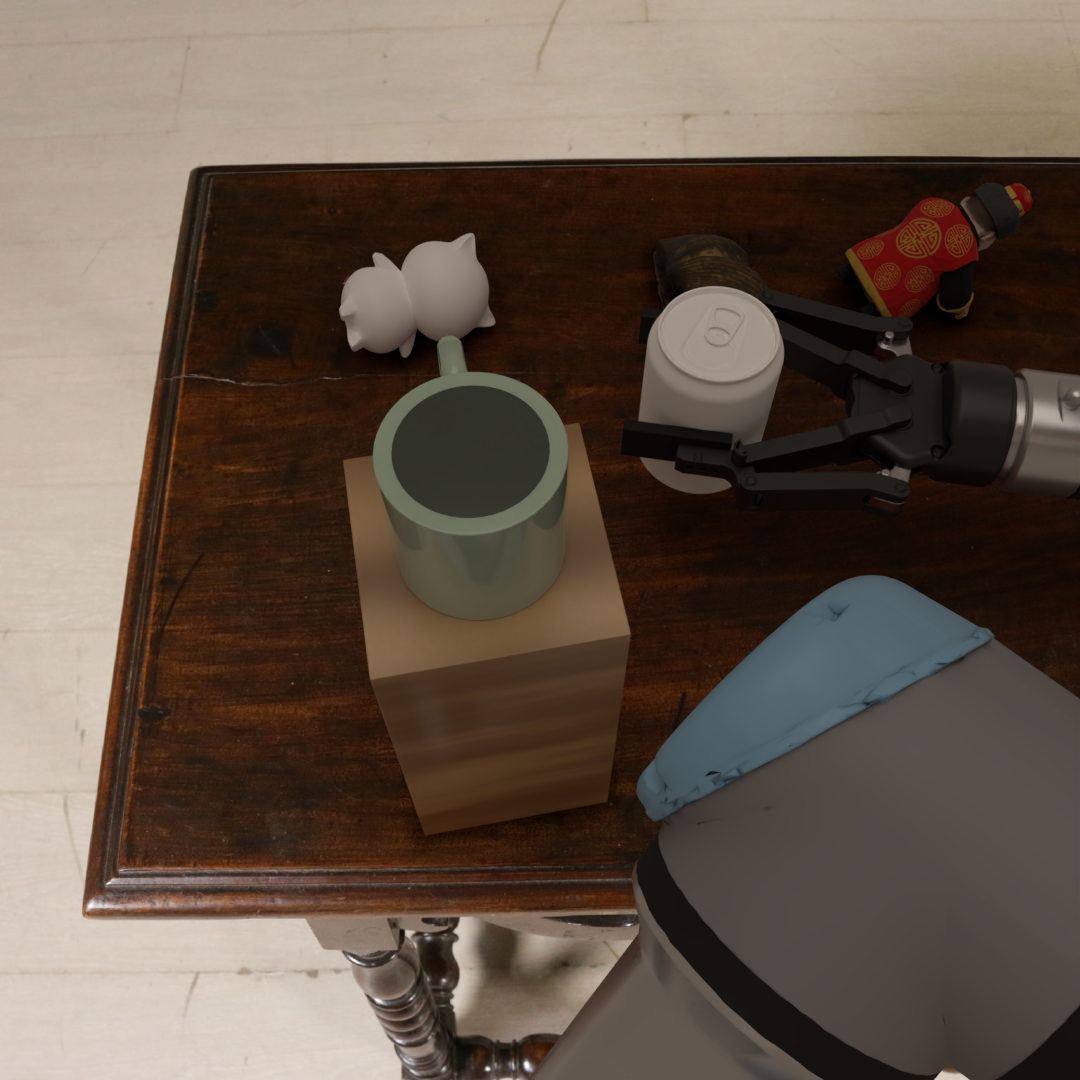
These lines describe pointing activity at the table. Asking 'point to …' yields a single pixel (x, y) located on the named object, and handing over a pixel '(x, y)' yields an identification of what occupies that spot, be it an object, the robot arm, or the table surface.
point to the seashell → (703, 266)
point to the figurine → (933, 251)
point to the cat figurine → (417, 297)
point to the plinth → (497, 673)
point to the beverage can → (710, 373)
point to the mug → (474, 490)
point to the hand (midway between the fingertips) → (632, 379)
